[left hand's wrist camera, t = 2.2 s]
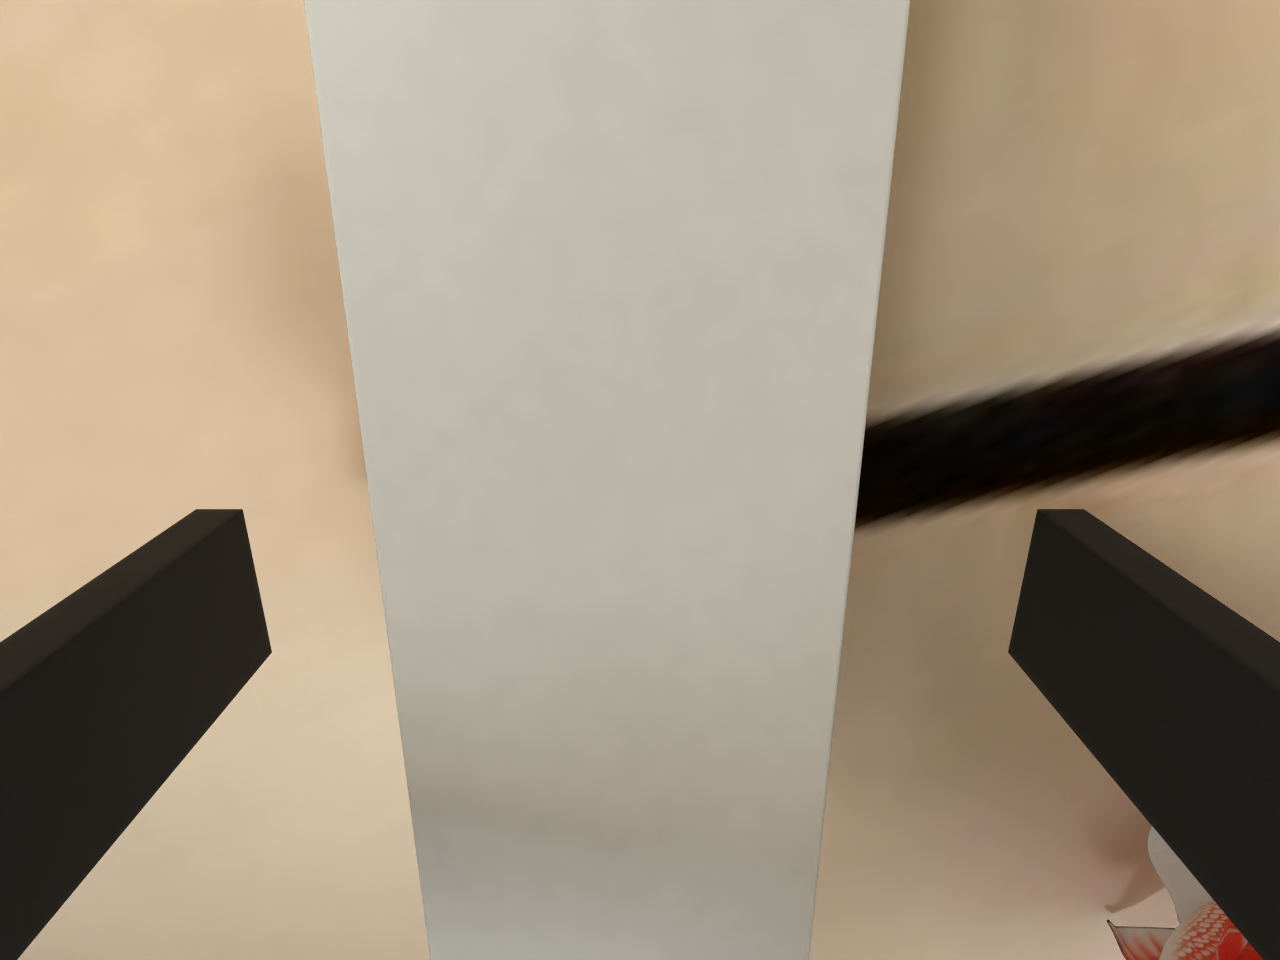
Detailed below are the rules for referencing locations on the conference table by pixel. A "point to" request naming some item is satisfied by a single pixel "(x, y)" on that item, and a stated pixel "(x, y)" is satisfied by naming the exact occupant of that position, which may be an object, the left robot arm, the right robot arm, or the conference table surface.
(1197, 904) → the fish
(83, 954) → the conference table surface
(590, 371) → the beam
